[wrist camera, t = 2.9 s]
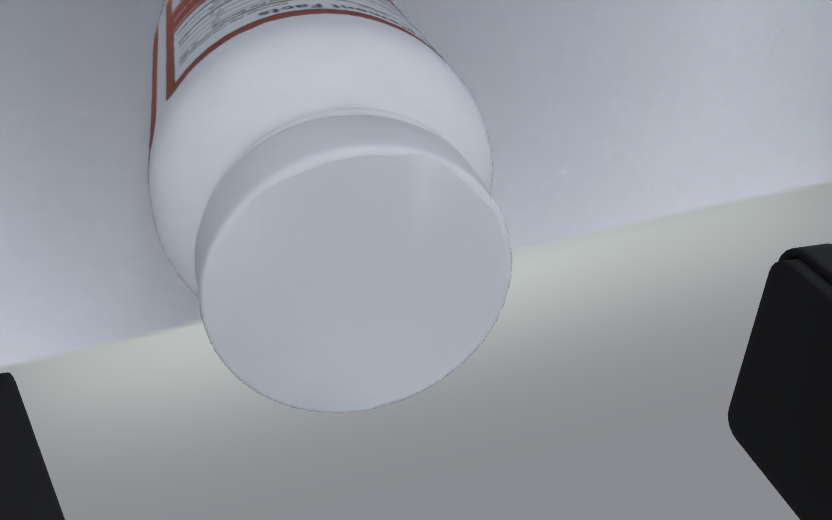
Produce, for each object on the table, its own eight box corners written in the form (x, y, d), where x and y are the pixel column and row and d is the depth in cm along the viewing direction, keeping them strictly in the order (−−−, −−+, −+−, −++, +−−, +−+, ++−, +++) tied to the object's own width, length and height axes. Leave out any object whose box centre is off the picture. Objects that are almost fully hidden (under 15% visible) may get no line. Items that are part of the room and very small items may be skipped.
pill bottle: (334, 193, 23) (440, 479, 14) (119, 117, 20) (80, 412, 11) (435, -5, 21) (638, 187, 12) (206, -121, 18) (245, 14, 9)
